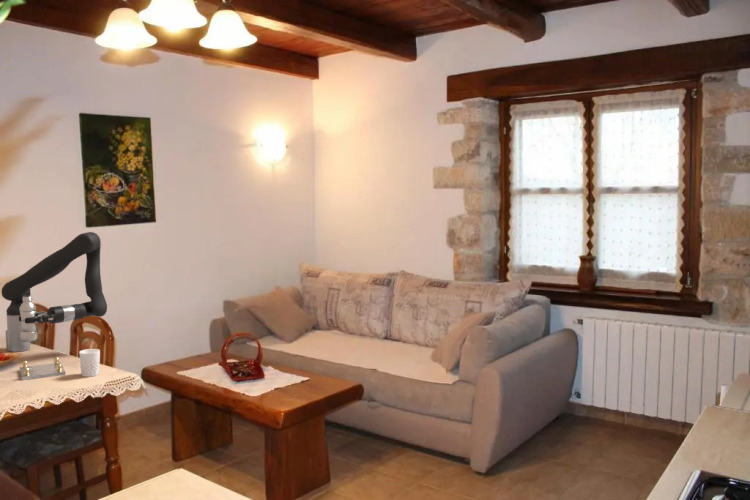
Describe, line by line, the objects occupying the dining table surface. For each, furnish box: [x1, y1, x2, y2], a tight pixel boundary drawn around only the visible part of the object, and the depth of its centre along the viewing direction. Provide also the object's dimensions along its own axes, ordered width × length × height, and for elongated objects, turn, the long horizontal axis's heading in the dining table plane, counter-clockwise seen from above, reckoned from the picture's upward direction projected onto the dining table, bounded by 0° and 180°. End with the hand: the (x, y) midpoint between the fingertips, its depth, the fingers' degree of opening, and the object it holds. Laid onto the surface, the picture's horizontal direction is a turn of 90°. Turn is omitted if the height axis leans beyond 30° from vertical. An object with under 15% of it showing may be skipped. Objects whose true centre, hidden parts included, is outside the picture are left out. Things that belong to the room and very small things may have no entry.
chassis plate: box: [19, 356, 66, 381], centre depth 275 cm, size 16×16×4 cm
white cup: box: [78, 348, 101, 378], centre depth 272 cm, size 8×8×10 cm
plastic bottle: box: [20, 295, 38, 343], centre depth 283 cm, size 6×7×20 cm
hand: (22, 319), depth 282 cm, fingers closed on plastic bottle, 5 cm apart
